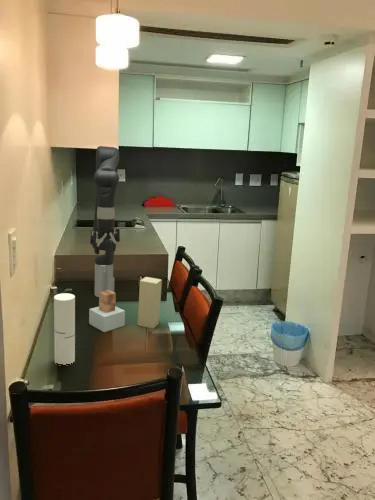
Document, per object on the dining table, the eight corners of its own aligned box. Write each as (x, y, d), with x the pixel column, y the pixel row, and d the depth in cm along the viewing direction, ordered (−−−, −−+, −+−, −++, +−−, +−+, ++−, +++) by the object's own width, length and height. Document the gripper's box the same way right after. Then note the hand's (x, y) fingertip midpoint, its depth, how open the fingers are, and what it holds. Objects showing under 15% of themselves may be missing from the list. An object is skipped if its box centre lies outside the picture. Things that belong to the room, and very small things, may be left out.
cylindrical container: (56, 355, 167) (56, 292, 160) (76, 356, 167) (76, 293, 161) (52, 365, 160) (52, 300, 153) (73, 365, 160) (73, 300, 154)
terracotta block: (108, 306, 198) (108, 289, 196) (115, 310, 195) (115, 293, 193) (99, 309, 194) (99, 292, 192) (106, 313, 191) (106, 295, 189)
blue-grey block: (109, 317, 204) (109, 303, 202) (124, 325, 196) (125, 310, 195) (89, 323, 196) (89, 309, 194) (104, 332, 189) (104, 316, 187)
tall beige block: (160, 322, 202) (162, 278, 197) (153, 328, 195) (156, 283, 190) (144, 319, 204) (146, 276, 199) (137, 325, 197) (139, 280, 192)
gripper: (113, 214, 202) (112, 248, 206) (87, 216, 191) (86, 253, 195) (124, 217, 197) (123, 252, 201) (97, 219, 186) (96, 257, 190)
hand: (105, 252), depth 198 cm, fingers open, 8 cm apart
